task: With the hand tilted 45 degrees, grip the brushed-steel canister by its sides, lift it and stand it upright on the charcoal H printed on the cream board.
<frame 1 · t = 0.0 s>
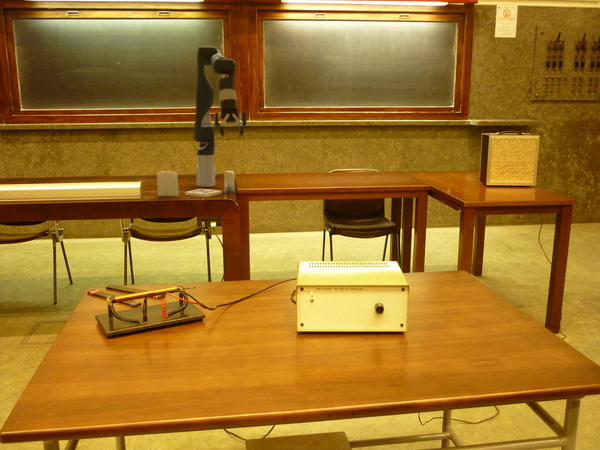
hand: (231, 135, 263), 31 cm above the table, tool tilted 20°, fingers open, 8 cm apart
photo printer: (168, 196, 289), on the table
canister: (229, 192, 300), on the table
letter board: (203, 194, 294), on the table
lamp: (208, 176, 357), on the table
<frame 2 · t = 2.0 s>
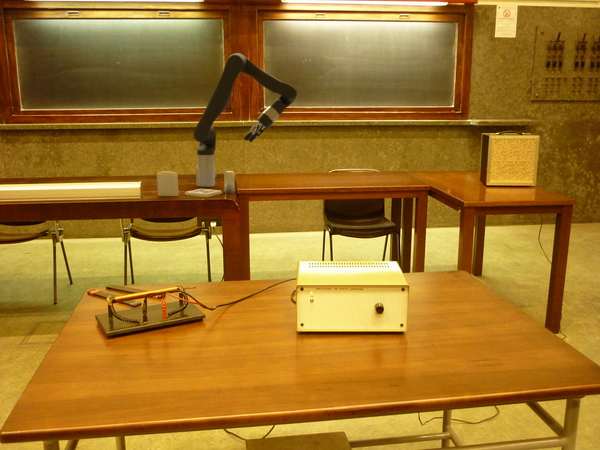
hand: (247, 140, 298), 27 cm above the table, tool tilted 45°, fingers open, 8 cm apart
nothing on the table moved.
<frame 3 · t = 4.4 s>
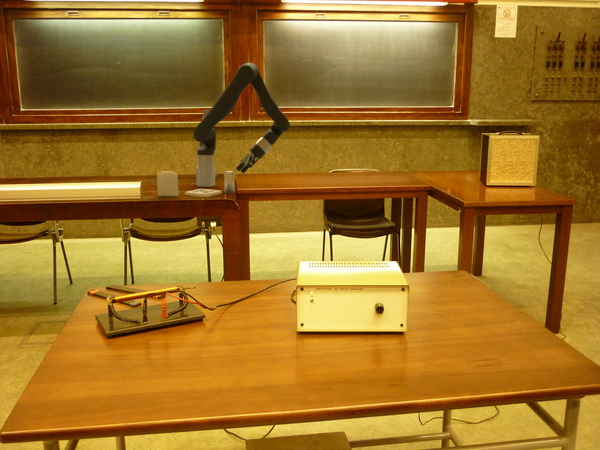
hand: (239, 171, 300), 11 cm above the table, tool tilted 45°, fingers open, 8 cm apart
nothing on the table moved.
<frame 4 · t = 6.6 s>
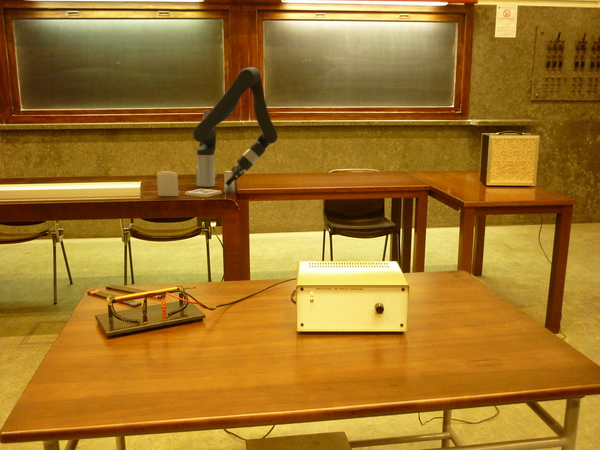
hand: (225, 183, 298), 5 cm above the table, tool tilted 45°, fingers closed on canister, 5 cm apart
canister: (229, 192, 300), on the table, touching gripper
everything else where it was.
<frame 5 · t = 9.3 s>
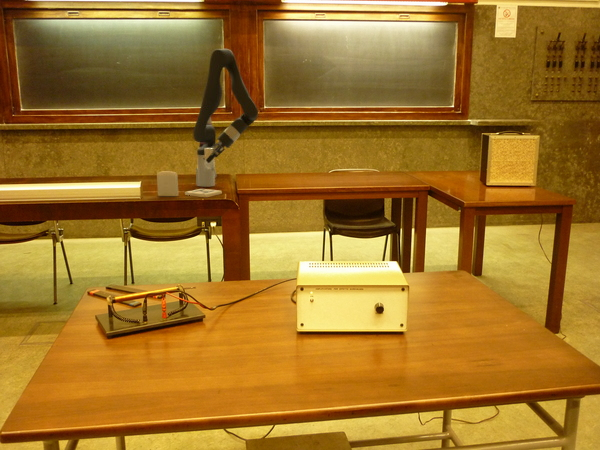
hand: (206, 160, 291), 17 cm above the table, tool tilted 45°, fingers closed on canister, 5 cm apart
canister: (209, 170, 293), point 12 cm above the table, touching gripper
everything else where it was.
when the fingers open (8 cm above the table, at t = 11.8 s): canister drops 1 cm, resting on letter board.
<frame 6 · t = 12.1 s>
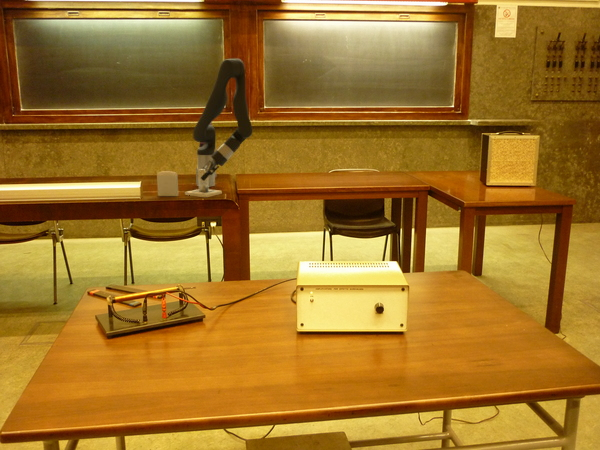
hand: (200, 178, 292), 8 cm above the table, tool tilted 45°, fingers open, 7 cm apart
canister: (203, 191, 294), point 2 cm above the table, touching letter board
everything else where it was.
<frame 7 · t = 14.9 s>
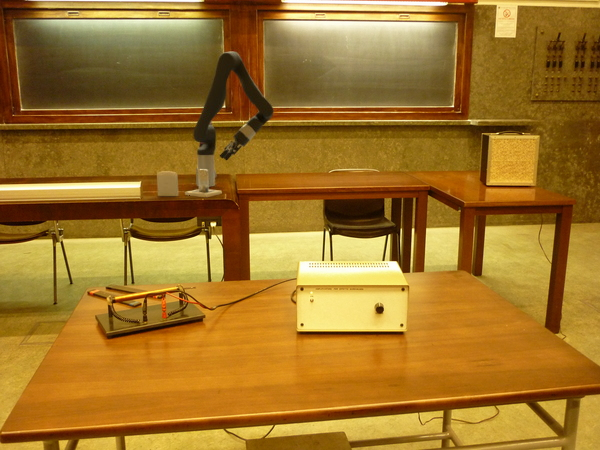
hand: (222, 158, 294), 18 cm above the table, tool tilted 45°, fingers open, 8 cm apart
nothing on the table moved.
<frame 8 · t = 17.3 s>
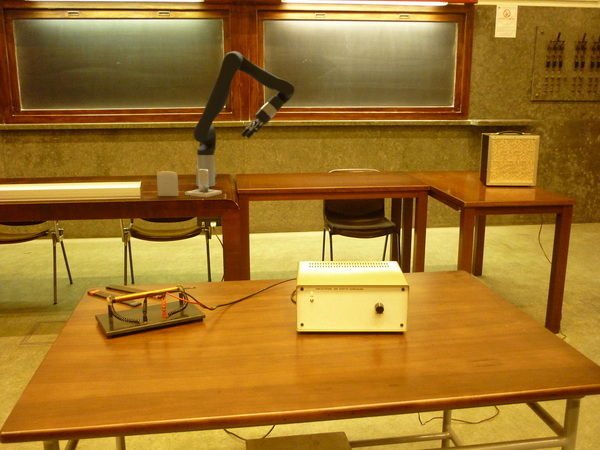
hand: (244, 136, 297), 29 cm above the table, tool tilted 45°, fingers open, 8 cm apart
nothing on the table moved.
at the end: canister inside the target area on the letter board (0.1 cm from its centre), point 1.6 cm above the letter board's base; canister tilted 0°; the gripper is holding nothing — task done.
